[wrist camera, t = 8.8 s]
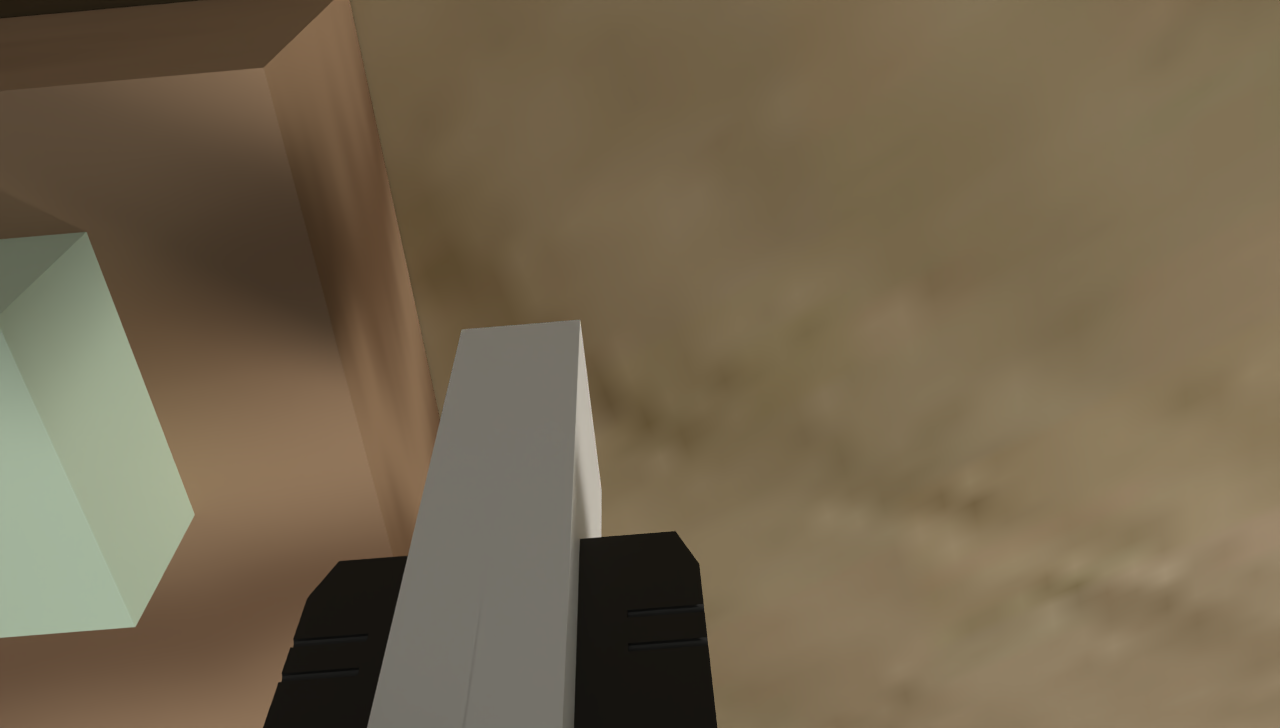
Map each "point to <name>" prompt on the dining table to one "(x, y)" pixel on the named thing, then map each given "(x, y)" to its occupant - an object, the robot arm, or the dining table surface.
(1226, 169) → the dining table surface
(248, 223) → the walnut riser
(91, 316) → the sage tile
